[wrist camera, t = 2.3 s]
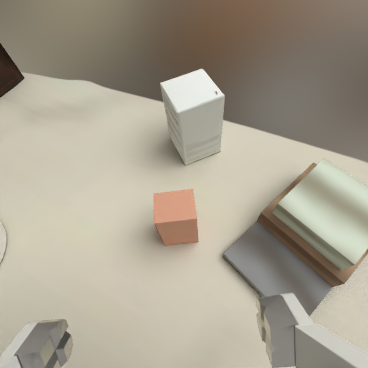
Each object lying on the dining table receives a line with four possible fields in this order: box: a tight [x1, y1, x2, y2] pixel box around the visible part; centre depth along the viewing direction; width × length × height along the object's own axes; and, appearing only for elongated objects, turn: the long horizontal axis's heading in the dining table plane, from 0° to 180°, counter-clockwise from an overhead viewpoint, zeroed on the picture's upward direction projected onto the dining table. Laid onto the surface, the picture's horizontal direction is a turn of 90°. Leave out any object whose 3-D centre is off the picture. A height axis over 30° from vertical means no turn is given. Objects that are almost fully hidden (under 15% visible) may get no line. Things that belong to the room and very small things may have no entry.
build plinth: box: [223, 158, 368, 316], centre depth 31 cm, size 20×12×8 cm, turn 131°
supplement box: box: [160, 69, 225, 165], centre depth 40 cm, size 7×7×13 cm
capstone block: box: [154, 189, 198, 246], centre depth 33 cm, size 4×5×9 cm
